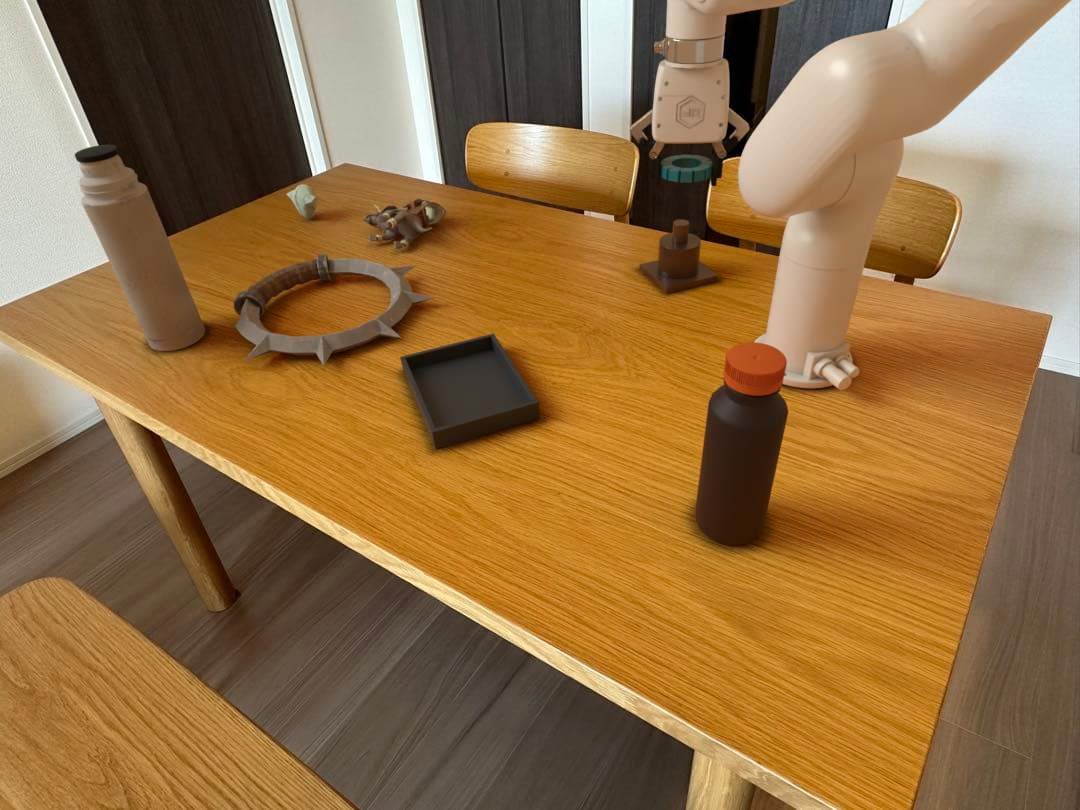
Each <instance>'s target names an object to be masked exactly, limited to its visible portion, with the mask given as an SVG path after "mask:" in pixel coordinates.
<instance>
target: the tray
mask: <svg viewBox="0 0 1080 810" xmlns="http://www.w3.org/2000/svg"><path fill="white" fill-rule="evenodd" d="M399 358H400V363H401V367H402V372H403V375H404V377H405V380H406V382H407V384H408V387H409V390H410V391H411V394H412V396H413V399H414V401H415V404H416V406H417V408H418V411H419V413H420V416H421V418H422V421H423V423H424V426H425V428H426V430H427V432H428V435H429V438H430V440H431V442H432V445H433V447H434V450H437V449H440V448H444V447H447V446H451V445H454V444H457V443H462V442H464V441H465V442H466V441H468V440H471V439H475V438H479V437H482V436H485V435H489V434H492V433H496V432H499V431H502V430H506V429H510V428H514V427H517V426H521V425H524V424H527V423H530V422H533V421H538V420H540V418H541V417H540V403H539V401H538V399H537V398H536V396H535V394H534V393H533V391H532V390H531V389H530V387H529V385H528V384H527V383H526V381H525V379H524V377H523V376H522V374H521V373H520V371H519V370H518V368H517V367H516V365H515V364H514V362H513V361H512V359H511V357H510V356H509V355H508V353H507V352H506V350H505V349H504V347H503V345H502V344H501V342H500V341H499V339H498V338H497V336H496V334H495V333H489V334H486V335H482V336H477V337H474V338H470V339H466V340H462V341H457V342H453V343H450V344H445V345H442V346H437V347H433V348H430V349H426V350H421V351H418V352H414V353H410V354H406V355H402V356H400V357H399Z"/></svg>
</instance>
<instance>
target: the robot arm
mask: <svg viewBox="0 0 1080 810" xmlns="http://www.w3.org/2000/svg"><path fill="white" fill-rule="evenodd" d="M795 1H796V0H666V21H665V22H666V23H665V24H666V25H665V26H666V27H665V38H663V40H660V41H654V44H653V45H654V47H653V48H654V49H653V54H659V55H662V57H664V59H662V60H661V61H660V62H659V64H658V67H657V72H656V75H655V84H654V91H653V105H652V108H651V109H650V110H649V111H648V112H646V113H645V114H644V115H643V116H641V117H640V118H639V119H637V120H636V121H635V122H634V123H633V124H631V125H630V128H629V133H630V134H631V136H632V137H633V138H634V140H635V141H636V142H637V143H638V145H639V147H640V148H641V149H642V150H643V151H644V152H645V153H646V154H647V155H648V156H649V159H650V180H654V187H656V188H657V187H659V186H661V176H660V171H661V161H662V154H661V151H662V150H663V148H664V146H665V145H666V144H670V145H671V144H711V146H712V147H713V150H714V151H713V153H712V154H711V155H712V157H711V160H712V163H713V167H712V175H711V177H709V179H710V186H712V187H717V184H718V183H717V182H718V179H722V178H723V177H722V176H723V168H724V158H725V157H726V156H727V154H728V153H730V151H732V150H733V149H734V148H735V147H736V146H737V145H738V144H739V142H740V141H741V140H742V139H743V138H744V137H745V136H746V134H747V133H748V132H749V131H750V125H749V122H747V121H746V120H745V119H743V118H742V117H741V116H740V115H739V114H737V113H736V112H735V111H734V110H733V109H732V108H730V107H729V106H730V105H729V104H730V66H729V61H728V60H727V59H726V58H723V57H724V46H725V33H726V24H727V16H730V15H735V14H741V13H742V14H743V13H745V12H750V11H757V10H763V9H771V8H778V7H782V6H785V5H788V4H790V3H792V2H795ZM1071 1H1072V0H924V2H922V4H921V5H920V6H919V7H918V8H917V9H916V10H915V11H914V12H913V13H912V14H911V15H910V16H908V17H907V18H905V20H903V21H902V22H899V23H898V24H896V25H893V26H891V27H888V28H884V29H881V30H876V31H870V32H865V33H861V34H856V35H851V36H847V37H844V38H842V39H839V40H836V41H834V42H832V43H830V44H828V45H826V46H825V47H824V48H822V49H820V50H819V51H817V52H816V53H815V54H814V55H813V56H811V58H809V59H808V60H807V61H806V62H805V63H804V64H803V65H802V66H801V68H800V69H799V70H798V71H797V73H796V74H795V75H794V76H793V77H792V79H791V80H790V82H789V83H788V84H787V86H786V87H785V89H784V90H783V91H782V92H781V94H780V95H779V96H778V98H777V99H776V101H775V102H774V103H773V105H772V106H771V107H770V109H769V110H768V112H767V113H766V114H765V115H764V117H763V118H762V120H761V121H760V122H759V124H758V125H757V126H756V128H755V129H754V130H753V132H752V134H751V135H750V137H749V138H748V140H747V141H746V143H745V145H744V148H743V150H742V153H741V156H740V159H739V164H738V170H737V182H738V183H737V185H738V188H739V189H738V190H739V193H740V196H741V197H742V200H743V202H744V203H745V204H746V205H747V207H748V208H749V209H750V210H752V211H753V212H754V213H756V214H758V215H760V216H762V217H766V218H769V219H785V218H788V219H787V223H786V225H785V228H784V231H783V236H782V241H781V246H780V250H779V256H778V263H777V268H776V274H775V278H774V285H773V291H772V297H771V303H770V309H769V314H768V319H767V320H768V321H767V325H766V332H765V333H763V334H761V335H759V336H758V337H756V339H755V340H754V341H753V342H755V343H762V344H767V345H770V346H772V347H775V348H776V349H778V350H780V351H781V352H782V353H783V354H784V356H785V357H786V360H787V364H786V369H785V374H784V379H783V383H782V385H785V386H788V387H793V388H799V389H822V388H827V387H832V386H834V387H835V388H837V390H839V391H845V390H847V389H848V388H849V387H850V386H851V384H852V382H853V379H854V378H856V377H857V376H858V375H859V374H860V372H861V369H860V368H859V367H858V366H856V365H855V364H854V363H853V362H854V361H853V356H852V354H851V352H850V350H851V345H850V344H849V343H848V342H846V338H847V334H848V330H849V328H850V327H849V326H850V323H851V318H852V315H853V311H854V308H855V304H856V299H857V296H858V292H859V287H860V284H861V281H862V276H863V272H864V268H865V264H866V261H867V258H868V254H869V250H870V247H871V243H872V239H873V235H874V232H875V230H876V226H877V223H878V220H879V217H880V215H881V211H882V209H883V208H884V204H885V203H886V201H887V200H886V199H887V198H888V196H889V194H890V192H891V190H892V188H893V185H894V183H895V181H896V179H897V177H898V174H899V172H900V169H901V166H902V162H903V157H904V149H905V147H904V145H905V142H904V138H907V137H911V136H914V135H918V134H920V133H923V132H925V131H928V130H930V129H932V128H933V127H936V126H937V125H938V124H940V122H942V121H943V120H944V119H945V118H947V117H948V116H949V115H950V114H951V113H953V112H954V110H955V109H956V108H958V107H959V105H960V104H962V103H963V102H964V101H965V100H966V99H967V98H968V97H969V96H970V95H971V94H972V93H973V92H974V91H976V89H978V88H979V87H980V86H981V85H982V84H983V83H984V82H985V81H986V80H988V78H990V76H992V75H993V74H994V73H995V72H996V71H997V70H998V69H999V68H1001V66H1003V65H1004V64H1005V63H1006V62H1007V61H1009V59H1010V58H1012V56H1013V55H1014V54H1016V52H1017V51H1019V50H1020V48H1021V47H1022V46H1023V45H1024V44H1025V43H1027V41H1028V40H1030V39H1031V38H1032V37H1033V36H1034V35H1035V34H1036V33H1037V32H1038V31H1039V30H1040V29H1041V28H1043V27H1044V26H1045V25H1046V24H1047V23H1048V22H1050V21H1051V19H1052V18H1054V17H1055V16H1056V15H1057V14H1058V13H1059V12H1060V11H1062V9H1064V8H1065V7H1067V5H1068V4H1069V3H1070V2H1071ZM728 123H729V124H730V125H732V126H733V127H735V129H734V131H733V132H732V133H731V134H730V135H729V136H728V137H726V135H727V130H728ZM650 125H651V135H652V137H653V141H652V140H651V139H650V138H649V137H648V136H647V135H645V132H644V131H643V130H645V128H647V127H648V126H650ZM725 138H726V139H725Z"/></svg>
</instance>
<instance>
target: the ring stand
mask: <svg viewBox="0 0 1080 810" xmlns="http://www.w3.org/2000/svg"><path fill="white" fill-rule="evenodd" d="M689 231H690V221H689V220H687V219H681V218H680V219H679V218H678V219H675V220H674V221H673V223H672V232H669V233H666V234H663V235H662V236H661V237H660V238H659V239H658V255H657V259H656V260H652V261H648V262H644V263H640V264H639V271H640V273H643V274H644V276H646V277H647V278H648V279H649V280H650V281H651V282H652V283H653V284H655V285H656V286H657V287H658V288H660V290H661V291H663V292H664V293H665V294H666V295H668V294H671V293H675V292H679V291H684V290H687V289H688V290H689V289H692V288H696V287H699V286H703V285H706V284H711V283H715V282H717V281H718V275H717V274H716V273H715V272H714V271H713V270H711V269H710V268H709V267H707V266H706V265H705V264H703V263H702V262H700V256H701V255H700V254H701V245H702V240H701V238H700V237H699V236H698V235H696V234H694V233H689Z"/></svg>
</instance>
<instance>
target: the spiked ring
mask: <svg viewBox="0 0 1080 810" xmlns="http://www.w3.org/2000/svg"><path fill="white" fill-rule="evenodd" d="M415 268H416V265H406V266H394V267H388V266H387V265H383V264H381V263H378V262H375V261H371V260H367V259H360V258H359V259H358V258H352V257H351V258H329V257H328V255H327V253H321V254H317V255H316V258H315V259H309V260H306V261H302V262H300V261H299V262H295V263H292V264H290V265H289V266H285V267H281V268H278V269H276V270H275V271H274V272H272V273H270V274H267V275H265V276H262V277H261V278H260V280H258V281H256V282H254V283H253V284H251V285H250V286H249V287H248V288H247V289H246V290H243V291H241V292H240V291H239V292H238V293H237V295H236V297H235V298H234V300H233V310H234V311H235V313H236V314H237V315H238V316H239V319H238V320H237V322H236V324H235V325H234V327H235V329H236V330H237V331H238V333H240V335H241V336H242V337H244V338H245V339H246V340H247V341H249V342H251V343H252V344H254V345H256V346H254V348H253V349H252V351H251V352H250V353H249V354H248V355H247V356H246V358H245V359H244V360H243V361H244V362H246V361H249V360H251V359H254V358H257V357H260V356H264V355H267V354H269V353H273V352H277V353H282V354H288V355H292V356H293V355H294V356H315V355H317V357H318V359H319V361H320V362H321V364H322V366H323V367H325V365H326V363H327V361H328V360H329V357H330V356H331V355H332V354H335V353H340V352H344V351H348V350H351V349H355V348H358V347H360V346H363V345H366V344H368V343H369V342H372V341H373V340H376V339H378V338H380V337H385V338H400V339H402V337H401V336H400V334H398V333H397V332H396V331H395V330H394V329H393V328H394V326H396V325H397V324H398V323H399V322H400V321H401V320H402V319H403V317H404V316H405V315H406V313H407V312H408V311H409V310H410V308H411V306H414V305H418V304H421V303H425V302H427V301H431V300H434V299H437V297H436V296H435V297H434V296H432V295H431V296H430V295H427V294H421V293H417V292H413V290H412V286H411V284H410V283H409V281H408V280H407V279H406V278H405V277H404V276H405V275H406V274H408V273H409V272H411V271H412V270H413V269H415ZM349 276H350V277H351V276H353V277H361V278H362V277H363V278H370V279H373V280H377V281H380V282H382V283H384V284H385V286H387V288H388V289H389V292H390V303H389V306H388V307H387V308H386V310H385V311H383V312H382V313H381V314H379V315H378V316H376V317H375V318H373V319H370V320H369V321H366V322H364V323H362V324H360V325H358V326H355V327H352V328H349V329H344V330H342V331H338V332H333V333H327V334H320V335H303V336H302V335H301V336H300V335H299V336H293V335H292V336H291V335H287V334H286V335H285V334H281V333H280V334H279V333H274V332H271V331H270V330H268V329H267V328H266V327H265V326H264V325H263V323H262V321H261V319H260V318H261V317H262V316H263V315H264V314H265V312H266V308H267V307H266V306H267V304H268V303H269V302H270V301H271V300H272V298H276V297H277V296H279V295H280V294H281V293H283V292H284V291H290V290H291V289H292V288H294V287H296V286H298V285H300V286H302V285H304V284H307V283H309V282H311V281H319V280H320V281H321V283H326V282H327V283H329V282H331V281H332V280H333V279H332V277H349Z"/></svg>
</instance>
